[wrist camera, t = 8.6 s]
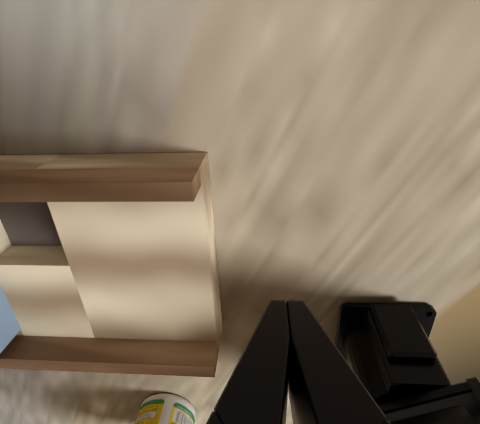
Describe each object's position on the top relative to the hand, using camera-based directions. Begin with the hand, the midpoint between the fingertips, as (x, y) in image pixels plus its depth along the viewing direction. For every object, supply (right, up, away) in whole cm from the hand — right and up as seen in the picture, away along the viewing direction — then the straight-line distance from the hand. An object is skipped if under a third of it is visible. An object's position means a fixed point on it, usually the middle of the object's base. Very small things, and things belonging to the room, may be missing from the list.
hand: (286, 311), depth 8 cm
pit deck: (-13, 0, +15) cm, 20 cm away
